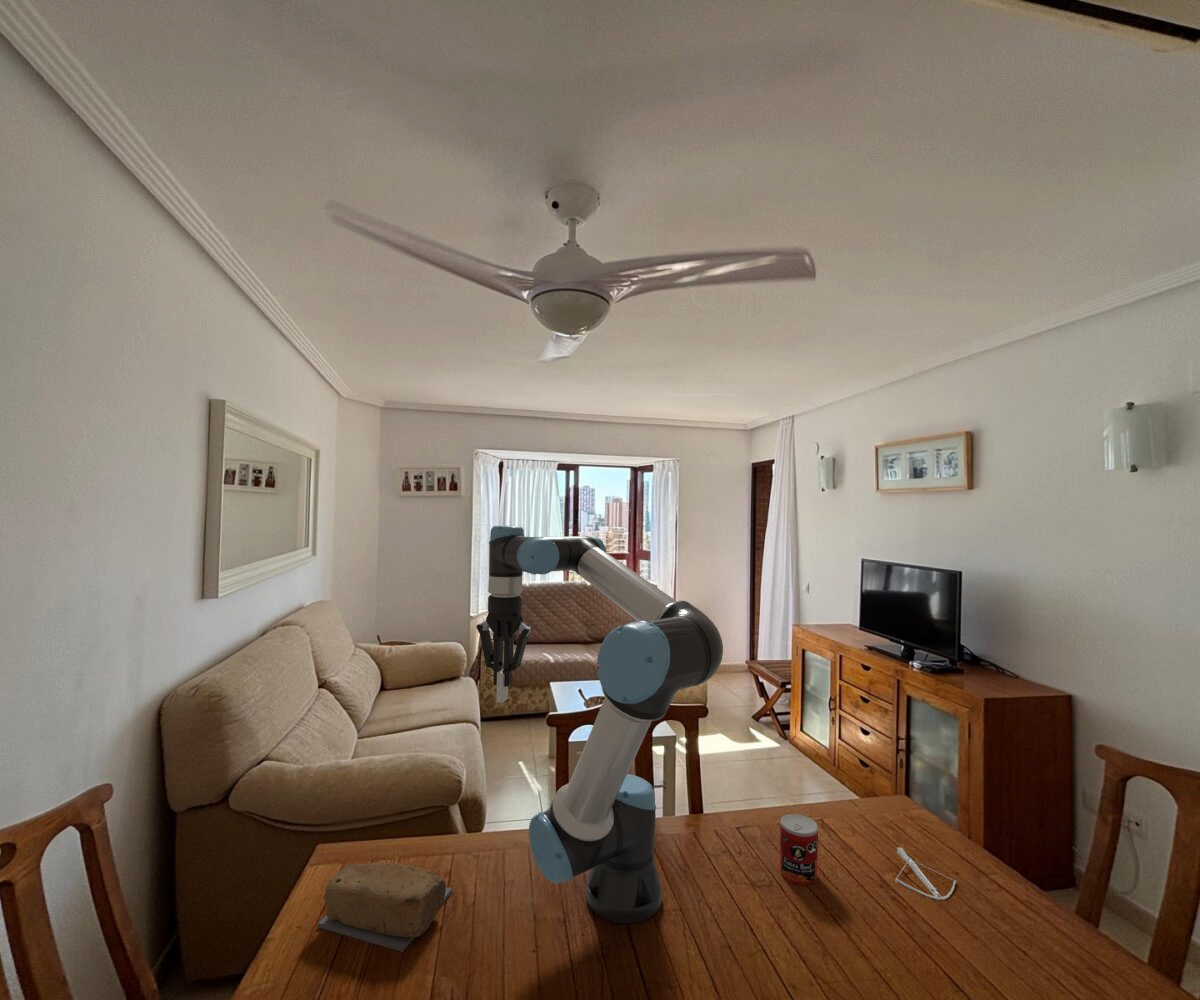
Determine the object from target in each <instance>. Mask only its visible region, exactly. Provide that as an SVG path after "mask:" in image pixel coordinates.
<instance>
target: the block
mask: <svg viewBox="0 0 1200 1000" xmlns="http://www.w3.org/2000/svg"><path fill="white" fill-rule="evenodd" d="M446 886H447V885H446V880H445V879H444V878H443V877H441V876H440V875H439V874H438V873H437V872H436V871H434V870H432V869H428V868H424V867H419V866H414V865H409V864H402V863H394V862H373V863H366V864H363V863H362V864H360V863H351V864H347V865H346V866H344V867H343V868H342V869H340V870H339V871H338V872H337V873H336V874H335V875H334V876H333V877H332V878H331V879H329V881H328V883H327V885H326V887H325V890H324V904H325V906H326V907H327V909H326V915H327V917H328V918H329V919H332V920H340V922H342V923H343V924H346V925H349V926H353V927H356V928H360V929H364V930H369V931H376V932H378V933H381V934H387V935H393V936H398V937H410V938H414V939H415V938H417V937H421V936H422V935H423V934H425V932H426V931H427V930H428V928H430V926H431V923H432V922H433V921H434V919H435V918H436V916H437V915H438V911H439V909H440V908H441V907H442V905H443V904H442V902H443V900H444V896H445V891H446ZM441 904H442V905H441ZM440 906H441V907H440ZM439 907H440V908H439Z"/></svg>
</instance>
